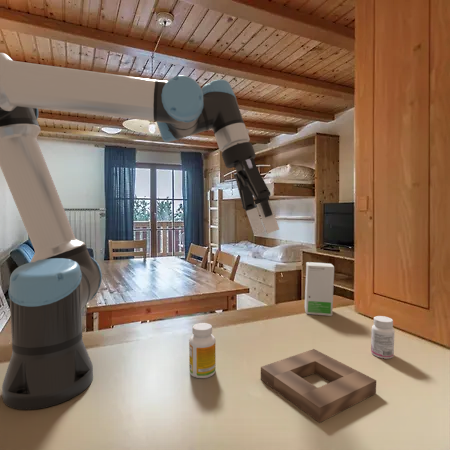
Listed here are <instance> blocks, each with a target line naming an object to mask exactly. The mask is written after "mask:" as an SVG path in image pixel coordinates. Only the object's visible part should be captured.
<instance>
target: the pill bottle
mask: <svg viewBox="0 0 450 450" xmlns="http://www.w3.org/2000/svg"><path fill="white" fill-rule="evenodd" d="M370 339H371V340H370V341H371V342H370V344H371V345H370V346H371V347H370V352H371V354H372V355H373V356H375V357H377V358H380V359H383V358H384V360H385V359H387V360H388V359H389V360H390V359H392V358H394V356H395V329H394V320H393V318H391V317H388V316H385V315H377V316H374V317H373V324H372V326H371V338H370Z"/></svg>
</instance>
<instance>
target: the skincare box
mask: <svg viewBox="0 0 450 450" xmlns="http://www.w3.org/2000/svg"><path fill="white" fill-rule="evenodd" d="M305 266H306V267H305V288H304V289H305V291H304V311H305V313H306V315H313V316H315V315H316V316H318V315H319V316H326V317H327V316H329V317H333V308H334V305H333V304H334V286H335V285H334V283H335V282H334V281H335V266H334V265H333V264H332V263H330V262H329V263H328V262H327V263H326V262H315V261H314V262H312V261H307V262H305Z"/></svg>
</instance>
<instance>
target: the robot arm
mask: <svg viewBox="0 0 450 450" xmlns="http://www.w3.org/2000/svg"><path fill="white" fill-rule="evenodd" d="M238 103H239V102H238V100H237V97H236V94H235V92H234V90H233V87H232V85H231V84H230V82H229V81H228V80H226V79H221V78H220V79H214V80H212V81H210V82H209V83H206V84H204V85H203V86H202V87H201V85H200V84H199V83H198V82H197V81H196V80H195V79H194V78H192V77H190V76H187V75H183V74H181V75H175V76H172V77H171V78H170V79H169V78H168V80H159V79H151V78H143V77H135V76H131V75H130V76H127V75H122V74H113V73H107V72H99V71H93V70H84V69H77V68H71V67H69V68H68V67H62V66H55V65H54V66H53V65H49V64H48V65H47V64H41V63H40V64H39V63H34V62H32V63H31V62H25V61H17V60H13V59H12V58H11V57H10V56H9V55H8V54H6V53H4V52H0V169H1V172H2V174H3V177H4V180H5V181H6V184H7V187H8V189H9V192H10V194H11V196H12V198H13V201H14V203H15V205H16V206H15V207H16V208H17V211H18V212H19V215H20V219H21V220H22V223H23V225H24V229H25V230H26V232H27V233H26V234H27V235H28V237H29V240H30V242H31V245H32V247H33V249H34V254H33V256H32V258H31V260H30V262H26V263H24V264H21V265H20V266H18V267H16V268H15V269H14V270H13V271H12V273H11V274H10V277H9V286H8V298H9V309H10V310H9V311H10V313H9V314H10V327H11V329H10V330H11V331H10V332H11V346H12V347H11V348H12V349H11V351H12V353H11V355H10V356H11V357H10V360H9V361H8V362H9V363H8V366H7V369H6V373H5V376H4V379H3V381H2V387H1V392H2V395H1V397H2V401H3V403H4V404H5V405H7V406H8V407H10V408H12V409H15V410H16V409H18V410H36V409H37V410H39V409H43V408H49V407H51V406H52V407H53V406H56V405H59V404H61V403H65V402H67V401H69V400H71V399H73V398H75V397H77V396H79V395H80V394H81V393H83V392H84V391H85V390H86V389H88V388H89V387H90V385H91V384H92V381H93V379H94V366H93V363H92V359H91V358H90V356H89V353H88V350H87V347H86V346H85V342H84V340H83V339H84V338H83V318H82V317H83V314H82V313H83V309H84V308H85V306H86V305H87V304H88V303H89V302H90V301H92V299H94V298H95V296H96V295H97V293H98V292H99V290H100V287H101V285H102V279H103V274H102V269H101V266H100V264H99V262H97V260H95V258H93V257H92V256H91V255H90V252H89V251H88V248H87V245H86V243H85V241H84V242H83V241H82V240H80V239H77V238H76V236H75V234H74V231H73V228H72V226H71V223H70V221H69V218H68V216H67V213H66V211H65V207H64V206H63V203H62V201H61V198H60V195H59V192H58V190H57V187H56V185H55V183H54V180H53V178H52V174H51V172H50V169H49V166H48V164H47V163H46V160H45V157H44V155H43V152H42V149H41V146H40V144H39V141H38V139H37V138H38V136H39V134H40V133H41V126H40V124H39V121H38V119H39V109H40V110H46V111H48V110H50V111H58V112H67V113H75V114H76V113H77V114H85V115H95V116H103V117H112V118H124V119H132V120H139V121H140V120H141V121H148V122H155V123H156V125H157V128H158V131H159V133H160V134H159V135H160V137H161V139H162V141H163V142H165V143H170V142H174V141H180V139H184V138H187V137H191V136H193V135H197V134H200V133H203V132H207V131H210V130H212V131H213V134H214V137H215V141H216V143H217V144H216V145H217V147H218V150H219V152H221V157H222V160H223V163H224V166H225V168H227V169H232V168H234V169H235V171H236V173H233V177H234V178H235V182H236V185H237V190H238V194H239V198H240V202H241V205H242V207H241V208H242V209H243V210H245V213H246V216H247V219H248V221H249V224H250V227H251V230H252V233H253V236H256V235H260V234H262V233H264V232H266V234H271V233H274V232H276V231H279V230H280V227H279V224H278V222H277V219H276V216H275V213H274V210H273V207H272V204H271V202H270V196H271V191H270V190H269V188H268V186H267V184H266V182H265V180H264V178H263V176H262V175H261V173H260V171H259V169H258V167H257V164H256V161H255V158H256V152H255V150H254V146H253V143H252V142H250V140H251V139H250V136H249V133H250V130H249V128H246V124H245V121H244V118H243V116H242V115H243V114H242V113H241V109H240V106H239V104H238Z"/></svg>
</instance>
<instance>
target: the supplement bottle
mask: <svg viewBox="0 0 450 450" xmlns="http://www.w3.org/2000/svg"><path fill="white" fill-rule="evenodd" d="M212 333H213V326H212V324H210V323H207V322H199V323H195V324H194V325H193V326H192V335H191V336H190V337H189V340H188V341H189V343H188V346H189V347H188V349H189V351H188V352H189V356H188V357H189V358H188V360H189V362H188V363H189V364H188V365H189V366H188V367H189V368H188V369H189V370H188V371H189V374H190V375H191V377H193V378H197V379H207V378H211V377H212V376H213V375H214V374H215V373H216V368H217V367H216V365H217V364H216V337H215V335H213V334H212Z"/></svg>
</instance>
